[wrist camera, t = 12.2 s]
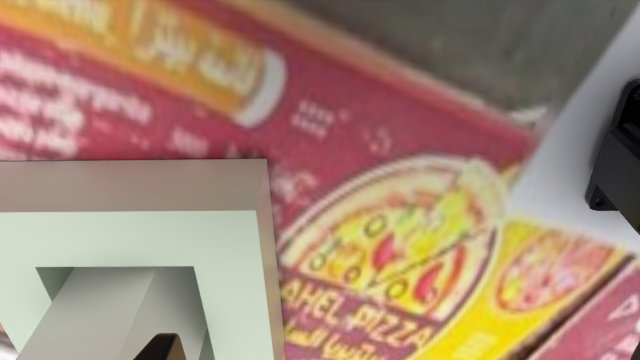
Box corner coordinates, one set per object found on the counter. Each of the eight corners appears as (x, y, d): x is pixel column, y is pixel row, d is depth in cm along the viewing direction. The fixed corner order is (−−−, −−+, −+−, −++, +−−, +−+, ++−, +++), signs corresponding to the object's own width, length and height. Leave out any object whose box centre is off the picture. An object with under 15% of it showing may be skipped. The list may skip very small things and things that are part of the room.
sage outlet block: (266, 158, 22) (255, 210, 19) (284, 338, 29) (278, 399, 26) (-6, 161, 22) (-65, 213, 19) (77, 339, 30) (45, 399, 26)
